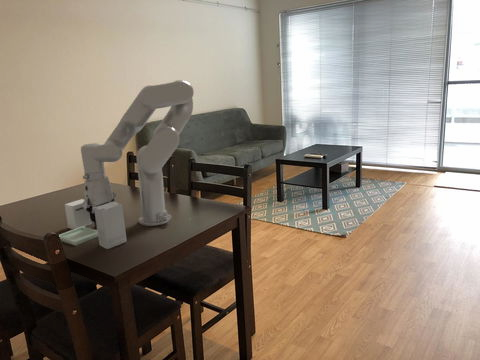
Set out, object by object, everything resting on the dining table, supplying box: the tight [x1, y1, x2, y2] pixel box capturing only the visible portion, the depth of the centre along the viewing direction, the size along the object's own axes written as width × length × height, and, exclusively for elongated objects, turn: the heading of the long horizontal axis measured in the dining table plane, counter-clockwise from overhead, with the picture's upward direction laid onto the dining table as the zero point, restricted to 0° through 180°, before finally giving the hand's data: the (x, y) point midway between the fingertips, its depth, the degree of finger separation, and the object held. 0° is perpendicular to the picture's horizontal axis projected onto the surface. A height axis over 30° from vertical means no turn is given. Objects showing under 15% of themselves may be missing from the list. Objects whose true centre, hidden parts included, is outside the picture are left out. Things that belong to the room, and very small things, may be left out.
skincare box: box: [94, 201, 128, 250], centre depth 144 cm, size 8×6×15 cm
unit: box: [64, 198, 94, 230], centre depth 164 cm, size 6×8×10 cm
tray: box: [58, 226, 98, 247], centre depth 153 cm, size 12×12×2 cm
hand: (102, 218), depth 162 cm, fingers closed on supplement bottle, 6 cm apart
